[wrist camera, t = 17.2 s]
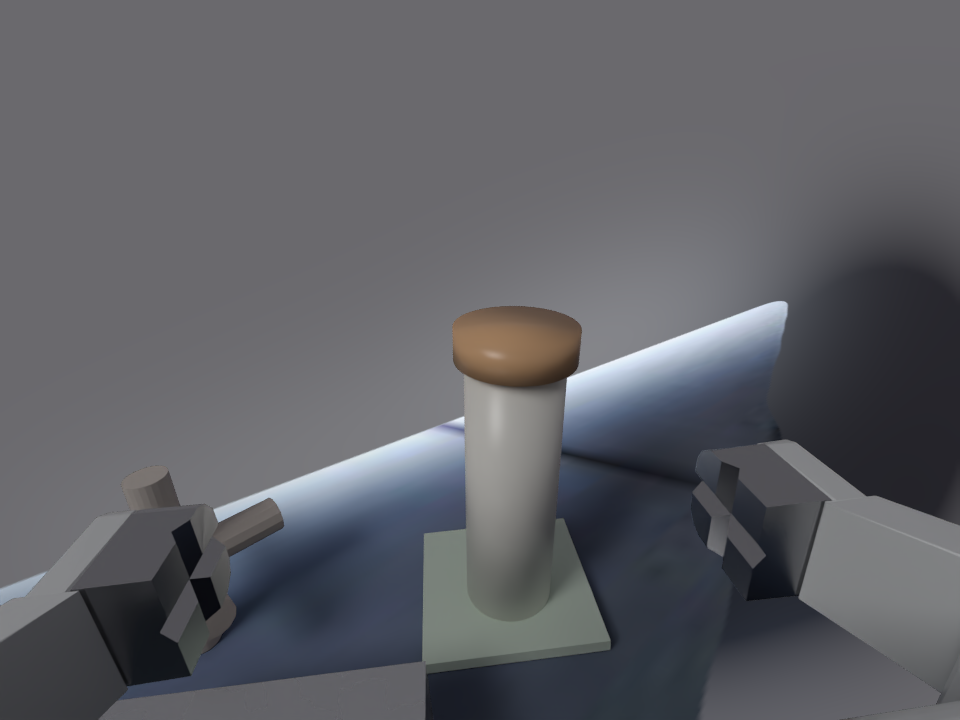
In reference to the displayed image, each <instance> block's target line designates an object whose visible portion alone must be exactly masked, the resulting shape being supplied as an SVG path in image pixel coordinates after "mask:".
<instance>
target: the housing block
mask: <svg viewBox="0 0 960 720" xmlns="http://www.w3.org/2000/svg"><path fill="white" fill-rule="evenodd" d="M98 720H434V719H433V712H432V704H431V697H430V689H429V682H428V675H427V667H426V661H423V662H415V663H407V664H399V665H391V666H384V667H376V668H368V669H360V670H353V671H345V672H337V673H329V674H321V675H314V676H306V677H298V678H290V679H282V680H275V681H267V682H259V683H251V684H243V685H236V686H228V687H220V688H212V689H204V690H197V691H189V692H181V693H173V694H165V695H158V696H150V697H142V698H134V699H126V700H119V701H116V702H115V703H114V704H113V705H112V706H111V707H110V708H109V709H108V710H107V711H106V712H105V713H104V714H103V715H102V716H101V717H100V718H99V719H98Z"/></svg>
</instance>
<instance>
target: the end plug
mask: <svg viewBox="0 0 960 720" xmlns="http://www.w3.org/2000/svg"><path fill="white" fill-rule="evenodd" d="M581 333H582V329H581V326H580V324H579V323H578V322H577V321H575V320H574V319H573V318H571V317H569V316H567V315H565V314H561V313H559V312H556V311H552V310H547V309H542V308H535V307H525V306H501V307H491V308H485V309H479V310H475V311H472V312H469V313H466V314H464V315H462V316H460V317H459V318H458V319H456V320H455V321H454V323H453V361H454V364H455V366H456V368H457V369H458V370H459V371H461V372H462V373H463V374H464V406H465V407H464V410H465V411H464V412H465V483H466V552H467V591H468V595H469V597H470V600H471V601H472V603H473V604H474V606H475V607H476V608H477V609H478V610H479V611H480V612H482V613H483V614H485V615H486V616H488V617H490V618H493V619H496V620H500V621H506V622H515V621H521V620H525V619H528V618H530V617H532V616H534V615H536V614H537V613H538V612H539V611H540V610H542V608H543V607H544V606H545V604H546V603H547V601H548V598H549V594H550V583H551V571H552V558H553V546H554V533H555V520H556V508H557V495H558V483H559V470H560V457H561V445H562V432H563V420H564V407H565V395H566V382H567V377H569V376H570V375H571V374H573V373H574V372H575V371H576V369H577V367H578V364H579V356H580V344H581Z"/></svg>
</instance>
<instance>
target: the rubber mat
mask: <svg viewBox="0 0 960 720" xmlns="http://www.w3.org/2000/svg"><path fill="white" fill-rule="evenodd" d="M610 647H611V640H610V637H609V635H608V632H607V630H606V627H605V625H604V622H603V619H602V617H601V614H600V612H599V609H598V606H597V604H596V601H595V599H594V596H593V593H592V591H591V588H590V586H589V583H588V581H587V578H586V575H585V573H584V570H583V568H582V565H581V562H580V560H579V557H578V555H577V552H576V549H575V547H574V544H573V542H572V539H571V537H570V534H569V531H568V529H567V526H566V524H565V521H564V518H562V519H556V520H555V533H554V546H553V558H552V571H551V583H550V594H549V598H548V601H547V603H546V604H545V606H544V607H543V608H542V610H540V611H539V612H538V613H537V614H536V615H534V616H532V617H530V618H528V619H525V620H521V621H515V622H506V621H500V620H496V619H493V618H490V617H488V616H486V615H485V614H483V613H482V612H480V611H479V610H478V609H477V608H476V607H475V606H474V604H473V603H472V601H471V600H470V597H469V595H468V591H467V552H466V529H462V530H453V531H444V532H435V533H426V534H424V580H423V651H422V662H423V661H426V667H427V674H429V673H437V672H444V671H452V670H460V669H467V668H475V667H483V666H490V665H498V664H506V663H513V662H521V661H529V660H537V659H544V658H552V657H560V656H567V655H575V654H583V653H590V652H598V651H606V650H610Z"/></svg>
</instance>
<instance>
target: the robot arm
mask: <svg viewBox="0 0 960 720" xmlns="http://www.w3.org/2000/svg"><path fill="white" fill-rule="evenodd" d="M695 471H696V473H697V474H698V476H699V477H700V478H701V480H702V482H701V483H700V484H699V485H698V486H697V488H696V489H695V490H694V491H693V492H692V500H691V513H692V518H693V523H694V526H695V528H696V531H697V533H698V535H699V537H700V538H701V540H702V541H703V543H704V544H705V545H706V547H707V548H709V549H711V550H712V551H714V552H716V553H718V554H720V555H721V556H723V562H722V569H723V570H724V572H725V573H726V575H727V576H728V577H729V579H730V580H731V581H732V583H733V584H734V585H735V587H736V588H737V590H738V591H739V592H740V594H741V595H742V596H743V598H744V599H745V600H746V601H752V600H762V599H771V598H781V597H790V596H799V599H800V600H802V601H803V602H805V603H806V604H808V605H809V606H811V607H813V608H814V609H815V610H817V611H818V612H820V613H821V614H823V615H824V616H826V617H827V618H829V619H831V620H832V621H833V622H835V623H836V624H838V625H839V626H841V627H842V628H844V629H845V630H847V631H848V632H850V633H851V634H853V635H854V636H856V637H857V638H859V639H860V640H862V641H863V642H865V643H866V644H868V645H869V646H871V647H872V648H874V649H876V650H877V651H879V652H880V653H882V654H883V655H885V656H886V657H888V658H889V659H891V660H892V661H894V662H895V663H897V664H898V665H900V666H901V667H903V668H904V669H906V670H907V671H909V672H910V673H912V674H913V675H915V676H916V677H918V678H919V679H921V680H922V681H924V682H925V683H927V684H928V685H930V686H932V687H933V688H934V689H936V690H937V691H939V692H940V693H941V695H940V697H939V699H938V701H937V703H936V705H930V706H924V707H918V708H911V709H905V710H899V711H892V712H886V713H880V714H873V715H867V716H861V717H855V718H848V719H842V720H960V526H958V525H956V524H953V523H950V522H947V521H945V520H942V519H939V518H936V517H934V516H931V515H928V514H925V513H923V512H920V511H917V510H914V509H911V508H909V507H906V506H903V505H900V504H897V503H895V502H892V501H889V500H886V499H884V498H881V497H878V496H869V497H866V496H865V495H864V494H862V493H861V492H860V491H858V490H857V489H856V488H854V487H853V486H852V485H851V484H849V483H848V482H847V481H845V480H844V479H843V478H841V477H840V476H839V475H838V474H836V473H835V472H834V471H832V470H831V469H830V468H828V467H827V466H826V465H825V464H823V463H822V462H821V461H819V460H818V459H817V458H815V457H814V456H813V455H811V454H810V453H809V452H808V451H806V450H805V449H803V448H802V447H801V446H800V445H798V444H797V443H796V442H792V441H789V440H780V441H772V442H765V443H758V444H757V445H749V446H740V447H731V448H723V449H714V450H706V451H702V452H701V453H700V455H699V457H698V459H697V464H696V470H695ZM217 526H218V521H217V519H216V516H215V513H214V511H213V508H212V507H210V506H208V505H206V504H198V505H186V506H175V507H163V508H152V509H141V510H131V511H122V512H112V513H106V514H104V515H101V516H99V517H97V518H96V519H95V520H94V521H93V522H92V523H91V524H90V526H88V527H87V529H86V530H85V531H84V532H83V533H82V534H81V535H80V537H79V538H78V539H77V540H76V541H75V542H74V543H73V544H72V545H71V547H70V548H69V549H68V550H67V551H66V552H65V553H64V554H63V555H62V556H61V558H60V559H59V560H58V561H57V562H56V563H55V564H54V565H53V567H52V568H51V569H50V570H49V571H48V572H47V573H46V574H45V575H44V576H43V578H42V579H41V580H40V581H39V582H38V583H37V584H36V585H35V587H34V588H33V589H32V590H31V591H30V592H29V593H28V594H27V595H26V597H21V598H14V599H11V600H10V601H8V602H6V603H4V604H3V605H1V606H0V720H98V719H99V718H100V717H101V716H102V715H103V714H104V713H105V712H106V711H107V710H108V709H109V708H110V707H111V706H112V705H113V704H114V703H115V702H116V701H117V700H118V699H119V698H120V697H121V696H122V695H123V694H124V693H125V692H126V691H127V690H128V688H127V686H132V685H138V684H145V683H151V682H157V681H163V680H169V679H175V678H181V677H187V676H191V675H192V673H193V671H194V668H195V666H196V664H197V662H198V659H199V657H200V655H201V653H202V650H203V648H204V646H205V644H206V641H207V639H208V637H209V634H210V633H209V630H208V627H207V624H206V621H207V620H208V619H209V618H210V617H211V616H212V615H214V614H215V613H216V612H217V611H218V610H219V609H221V607H222V605H223V602H224V600H225V597H226V595H227V592H228V587H229V580H230V574H231V571H230V560H229V555H228V552H227V549H226V546H225V545H223V544H222V543H221V542H219V541H218V540H217V539H215V538H214V537H212V536H213V534H214V532H215V530H216V528H217Z"/></svg>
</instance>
